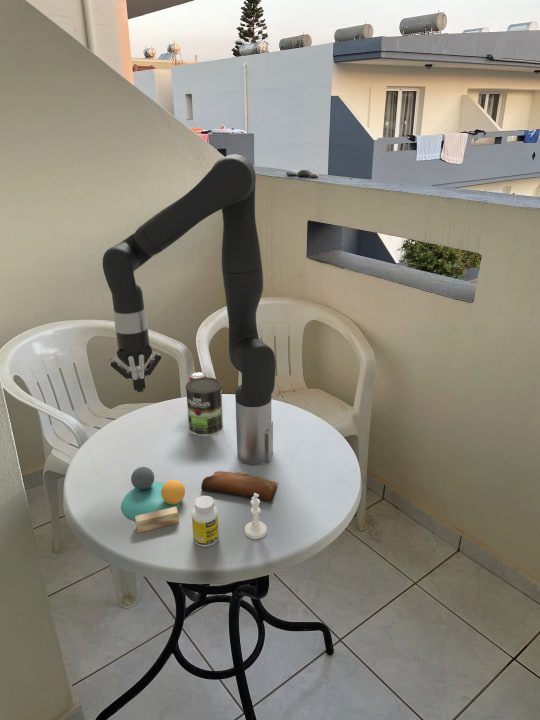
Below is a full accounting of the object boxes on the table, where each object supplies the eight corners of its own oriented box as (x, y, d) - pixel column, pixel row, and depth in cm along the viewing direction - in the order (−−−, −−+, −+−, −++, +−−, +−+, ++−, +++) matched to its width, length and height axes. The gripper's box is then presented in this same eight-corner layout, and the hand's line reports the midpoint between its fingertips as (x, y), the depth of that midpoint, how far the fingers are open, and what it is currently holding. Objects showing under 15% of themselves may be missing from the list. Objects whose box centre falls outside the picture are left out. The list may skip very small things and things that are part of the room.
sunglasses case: (281, 482, 126) (277, 470, 120) (275, 509, 122) (271, 499, 116) (213, 471, 130) (207, 459, 125) (205, 497, 126) (198, 486, 121)
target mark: (190, 486, 124) (190, 485, 124) (170, 525, 112) (170, 524, 111) (136, 480, 126) (136, 479, 126) (111, 517, 114) (110, 517, 114)
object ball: (187, 506, 118) (188, 483, 121) (179, 498, 114) (181, 475, 117) (165, 508, 119) (166, 485, 122) (156, 501, 114) (158, 477, 117)
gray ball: (159, 487, 122) (157, 476, 127) (149, 469, 120) (147, 459, 125) (137, 498, 121) (136, 487, 126) (127, 480, 119) (126, 469, 124)
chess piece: (271, 530, 110) (271, 493, 106) (255, 542, 107) (255, 504, 103) (255, 519, 113) (255, 483, 109) (239, 531, 110) (238, 494, 106)
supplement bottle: (208, 551, 104) (205, 513, 101) (188, 541, 107) (185, 504, 103) (224, 535, 109) (222, 498, 105) (204, 526, 111) (201, 490, 107)
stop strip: (177, 517, 114) (176, 506, 113) (178, 522, 112) (177, 512, 111) (136, 526, 111) (135, 516, 110) (137, 532, 109) (136, 522, 108)
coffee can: (215, 439, 144) (213, 395, 138) (182, 433, 147) (179, 390, 141) (228, 421, 153) (227, 379, 147) (197, 416, 156) (194, 375, 150)
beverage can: (207, 413, 157) (205, 379, 152) (190, 413, 157) (188, 378, 152) (209, 405, 162) (207, 371, 157) (193, 405, 162) (190, 371, 157)
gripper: (156, 318, 128) (163, 380, 135) (102, 325, 123) (111, 389, 130) (161, 328, 121) (168, 392, 128) (104, 336, 117) (114, 401, 124)
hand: (139, 390), depth 129 cm, fingers closed
